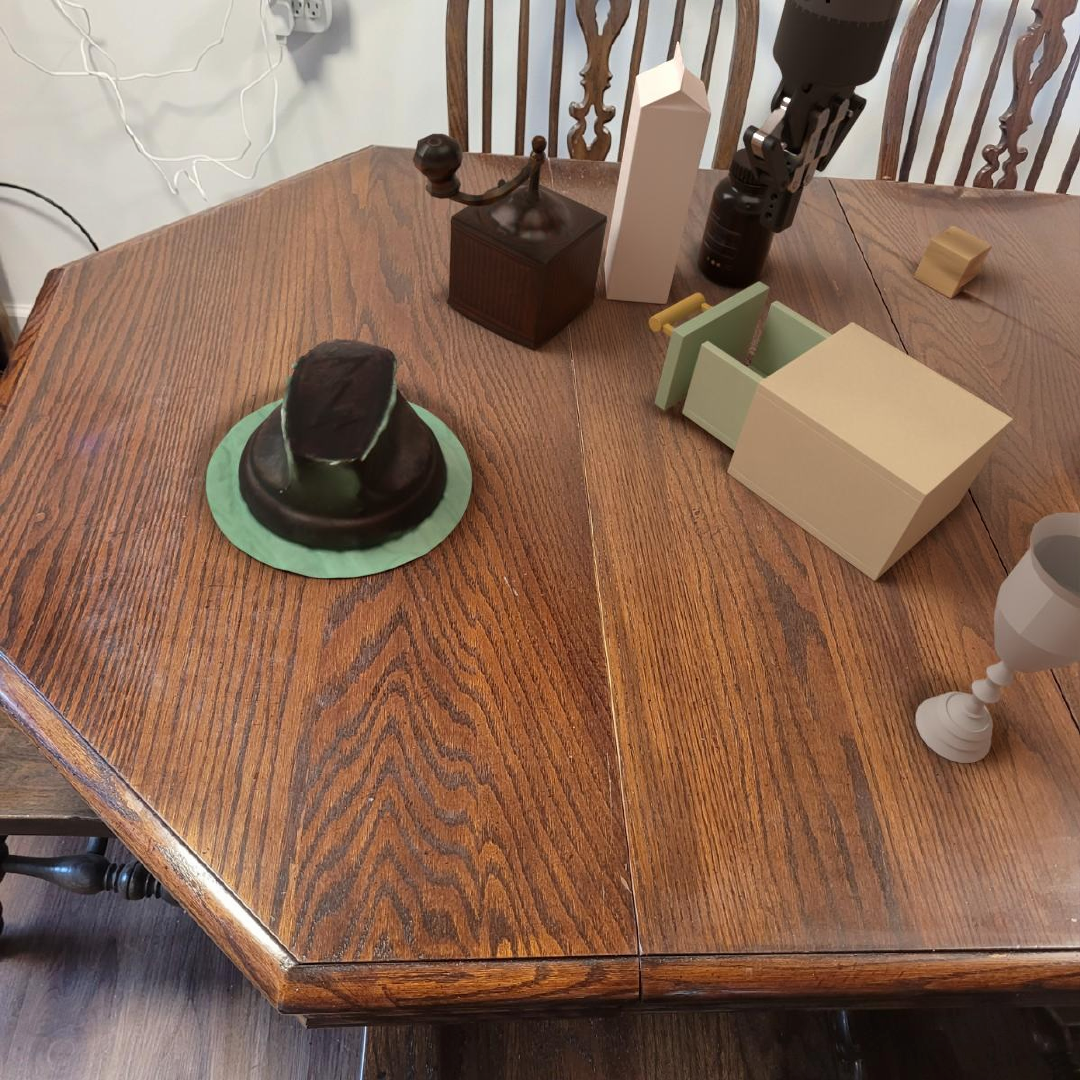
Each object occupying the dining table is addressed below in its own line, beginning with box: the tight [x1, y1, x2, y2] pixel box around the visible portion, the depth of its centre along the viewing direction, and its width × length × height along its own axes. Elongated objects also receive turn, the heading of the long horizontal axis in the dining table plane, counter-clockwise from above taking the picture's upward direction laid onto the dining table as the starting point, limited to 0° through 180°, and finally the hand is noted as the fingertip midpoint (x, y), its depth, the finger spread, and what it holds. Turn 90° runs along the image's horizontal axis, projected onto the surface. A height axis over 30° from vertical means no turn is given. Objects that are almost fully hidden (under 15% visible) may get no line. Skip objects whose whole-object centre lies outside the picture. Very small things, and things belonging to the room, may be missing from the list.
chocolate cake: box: [205, 338, 473, 579], centre depth 71 cm, size 15×19×20 cm
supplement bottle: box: [697, 147, 776, 288], centre depth 92 cm, size 7×7×12 cm
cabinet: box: [727, 321, 1013, 582], centre depth 74 cm, size 15×13×10 cm
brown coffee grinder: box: [412, 133, 608, 350], centre depth 81 cm, size 16×11×18 cm
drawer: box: [648, 280, 833, 451], centre depth 79 cm, size 18×11×8 cm, turn 44°
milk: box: [603, 41, 712, 305], centre depth 85 cm, size 6×6×22 cm
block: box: [913, 225, 993, 299], centre depth 98 cm, size 5×5×5 cm
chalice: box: [915, 512, 1080, 764], centre depth 56 cm, size 7×7×18 cm
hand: (774, 226), depth 76 cm, fingers closed
